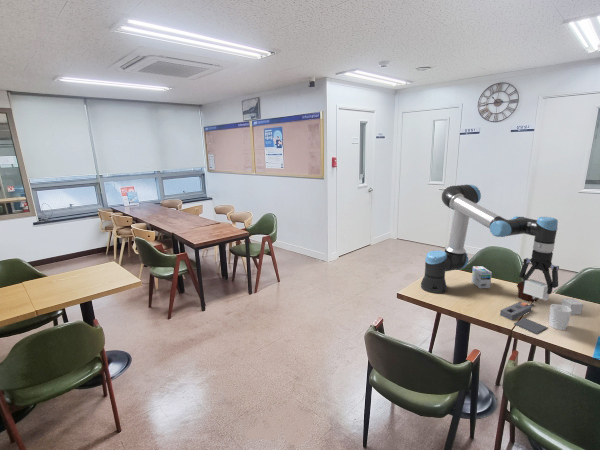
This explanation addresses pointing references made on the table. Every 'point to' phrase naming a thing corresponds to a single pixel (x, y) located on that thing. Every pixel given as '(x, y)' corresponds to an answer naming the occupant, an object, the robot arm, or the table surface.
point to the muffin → (524, 294)
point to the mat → (530, 326)
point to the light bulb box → (481, 277)
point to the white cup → (559, 316)
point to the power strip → (516, 310)
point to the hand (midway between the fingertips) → (535, 295)
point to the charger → (535, 288)
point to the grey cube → (573, 305)
